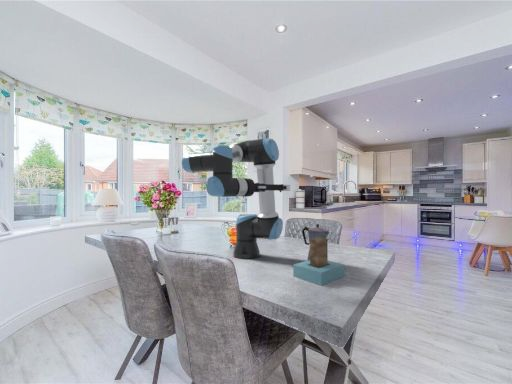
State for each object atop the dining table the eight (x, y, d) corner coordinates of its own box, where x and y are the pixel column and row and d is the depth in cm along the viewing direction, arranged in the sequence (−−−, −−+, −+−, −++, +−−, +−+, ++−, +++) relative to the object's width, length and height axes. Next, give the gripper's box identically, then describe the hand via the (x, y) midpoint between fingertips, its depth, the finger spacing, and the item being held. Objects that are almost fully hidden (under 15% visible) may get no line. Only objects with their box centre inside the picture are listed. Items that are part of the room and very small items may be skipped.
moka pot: (326, 268, 116) (326, 226, 116) (297, 262, 125) (297, 223, 125) (333, 263, 123) (333, 224, 123) (305, 258, 132) (305, 222, 133)
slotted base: (293, 276, 104) (293, 264, 104) (316, 268, 115) (316, 257, 115) (321, 285, 93) (321, 272, 93) (344, 276, 104) (344, 264, 104)
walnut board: (310, 274, 103) (309, 239, 103) (319, 271, 108) (319, 237, 108) (317, 276, 100) (317, 240, 100) (327, 273, 105) (327, 238, 105)
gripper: (225, 196, 110) (260, 196, 123) (263, 196, 91) (299, 196, 105) (225, 179, 110) (260, 181, 123) (263, 176, 91) (299, 179, 105)
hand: (278, 188), depth 114 cm, fingers open, 13 cm apart
